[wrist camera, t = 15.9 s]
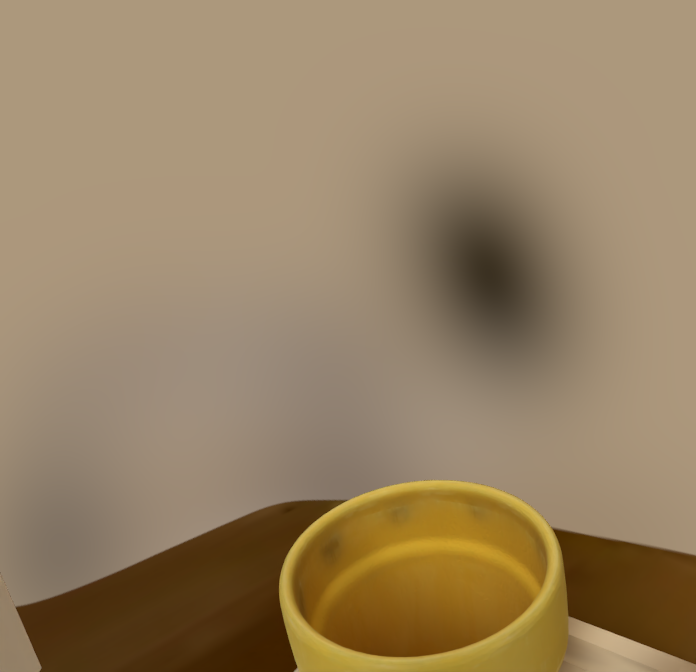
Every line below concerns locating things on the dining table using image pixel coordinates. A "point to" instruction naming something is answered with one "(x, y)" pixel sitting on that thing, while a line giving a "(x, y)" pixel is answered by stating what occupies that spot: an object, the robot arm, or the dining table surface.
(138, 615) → the dining table surface
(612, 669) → the birch tray
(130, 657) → the dining table surface
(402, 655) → the plant pot
